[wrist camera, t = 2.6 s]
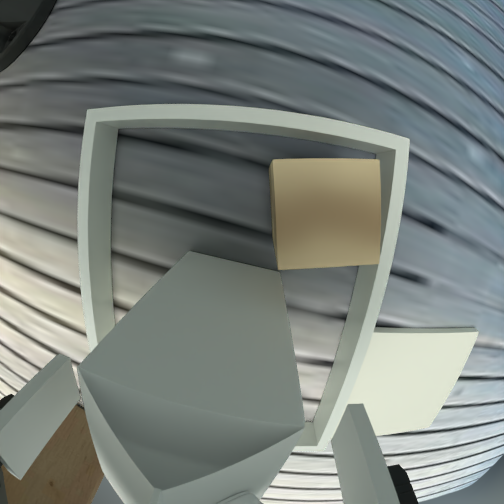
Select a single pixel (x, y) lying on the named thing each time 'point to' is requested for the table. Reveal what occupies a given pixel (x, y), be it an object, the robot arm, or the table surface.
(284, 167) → the oak block
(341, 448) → the robot arm
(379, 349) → the tile
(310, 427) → the rectangular frame
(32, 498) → the wooden block
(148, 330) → the milk carton
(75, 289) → the table surface
